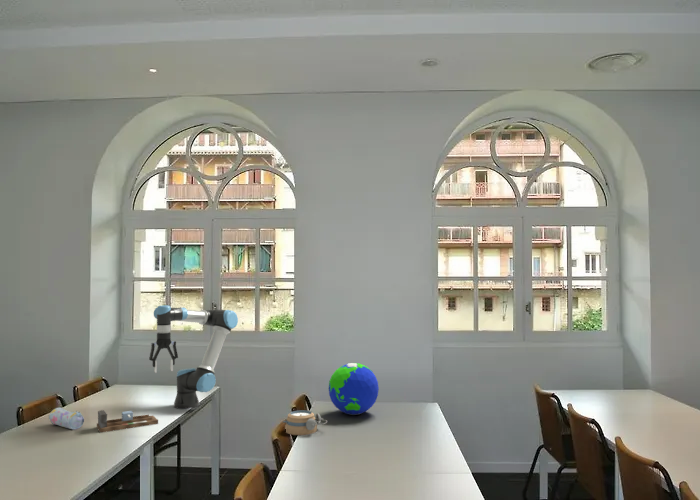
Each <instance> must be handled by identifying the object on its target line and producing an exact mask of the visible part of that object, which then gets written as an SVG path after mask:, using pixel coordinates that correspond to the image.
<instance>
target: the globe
mask: <svg viewBox="0 0 700 500" xmlns="http://www.w3.org/2000/svg"><path fill="white" fill-rule="evenodd" d="M328 395H329V397H330V401H331V403H332V404H333V405H334V407H335V408H336V409H338V410H339V411H340V412H343V413H344V414H346V415H350V416H356V415H360V414H363V413H366V412H368V411H369V410H370V409H371V408H372V407H373V406H374V404H375V403H376V401H377V399H378V396H379V381H378V379H377V376H376V375H375V373H374V372H373V370H371V369H370V368H369V367H368V366H366V365H364V364H361V363H356V362H351V363H350V362H348V363H346V364H343V365H340V366H339V367H338V368H337V369H336V370H335V371H334V372H333V373H332V374H331V377H330V379H329V382H328Z"/></svg>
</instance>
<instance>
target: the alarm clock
mask: <svg viewBox="0 0 700 500" xmlns="http://www.w3.org/2000/svg"><path fill="white" fill-rule="evenodd" d="M322 421H324V423H321V422H322ZM282 423H285V425H284V430H285V429H286V432H285V433H286V434H288V435H292V436H306V435H312V434H314V433H316V432H317V431H318V425H319V426H321V425H322V426H323V425H325V424H327V423H328V420H326V419H324V417H321V414H320V413H319V412H318V413H316V415H315V414H314V413H313V411H309V410H303V409H302V410H299V409H298V410H294V411H290V412H289V413H288V414H287V418H286V420H284V421H282Z"/></svg>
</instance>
